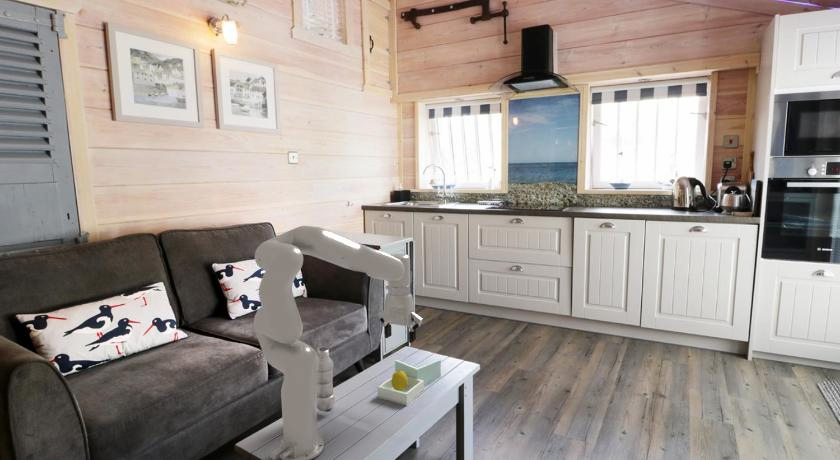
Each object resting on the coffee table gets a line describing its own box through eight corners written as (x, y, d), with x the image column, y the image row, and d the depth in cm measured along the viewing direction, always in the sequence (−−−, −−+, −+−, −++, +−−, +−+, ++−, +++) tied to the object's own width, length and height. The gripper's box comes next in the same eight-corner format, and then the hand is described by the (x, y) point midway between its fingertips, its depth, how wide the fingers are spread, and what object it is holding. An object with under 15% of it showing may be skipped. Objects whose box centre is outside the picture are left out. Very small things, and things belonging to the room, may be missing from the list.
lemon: (408, 388, 159) (408, 367, 159) (406, 396, 154) (406, 373, 153) (393, 388, 160) (392, 366, 159) (390, 395, 155) (390, 373, 154)
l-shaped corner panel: (440, 379, 169) (440, 360, 168) (417, 390, 160) (417, 369, 160) (418, 370, 177) (418, 351, 176) (395, 379, 169) (394, 360, 168)
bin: (406, 405, 149) (406, 394, 149) (378, 397, 155) (377, 386, 154) (424, 391, 159) (424, 380, 159) (396, 384, 165) (396, 373, 164)
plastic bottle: (338, 404, 151) (336, 346, 148) (329, 414, 144) (327, 354, 142) (321, 402, 152) (319, 345, 150) (311, 412, 146) (308, 352, 144)
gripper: (371, 289, 154) (373, 338, 156) (415, 295, 145) (416, 347, 147) (384, 285, 160) (385, 332, 162) (427, 290, 152) (427, 340, 154)
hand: (400, 339), depth 155 cm, fingers open, 9 cm apart
